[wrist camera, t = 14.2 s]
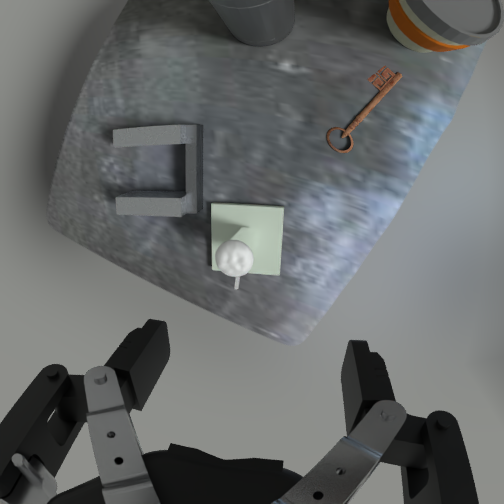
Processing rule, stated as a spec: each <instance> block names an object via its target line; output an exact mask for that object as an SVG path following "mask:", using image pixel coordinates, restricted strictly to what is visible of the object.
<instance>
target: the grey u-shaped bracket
mask: <svg viewBox="0 0 504 504" xmlns="http://www.w3.org/2000/svg"><path fill="white" fill-rule="evenodd" d="M167 144H186V191H130V192H127V193H125V194H122V195H120V196H117V197H116V210H117V215H145V216H169V217H182V216H184V215H185V214H186V213H190V214H197V213H198V212H200V211H201V210H202V209H203V125H163V126H149V127H137V128H126V129H116V130H113V148H115V147H129V146H145V145H167Z"/></svg>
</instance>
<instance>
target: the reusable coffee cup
mask: <svg viewBox="0 0 504 504" xmlns="http://www.w3.org/2000/svg"><path fill="white" fill-rule="evenodd" d="M503 21H504V11H503V7H502V3H501V0H389V8H388V11H387V24H388V27H389V29H390V31H391V33H392V34H393V36H394V37H395V38H396V39H397V40H398V41H399V42H400V43H401V44H402V45H403V46H405V47H407V48H408V49H411V50H413V51H416V52H421V53H426V52H432V51H437V52H445V51H451V50H456V49H462V48H465V47H468V46H471V45H478V44H481V43H483V42H485V41H486V40H488V39H489V38H491V37H492V36H494V35H495V34H496V33H498V32H499V30H500V29H501V27H502V24H503Z"/></svg>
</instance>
